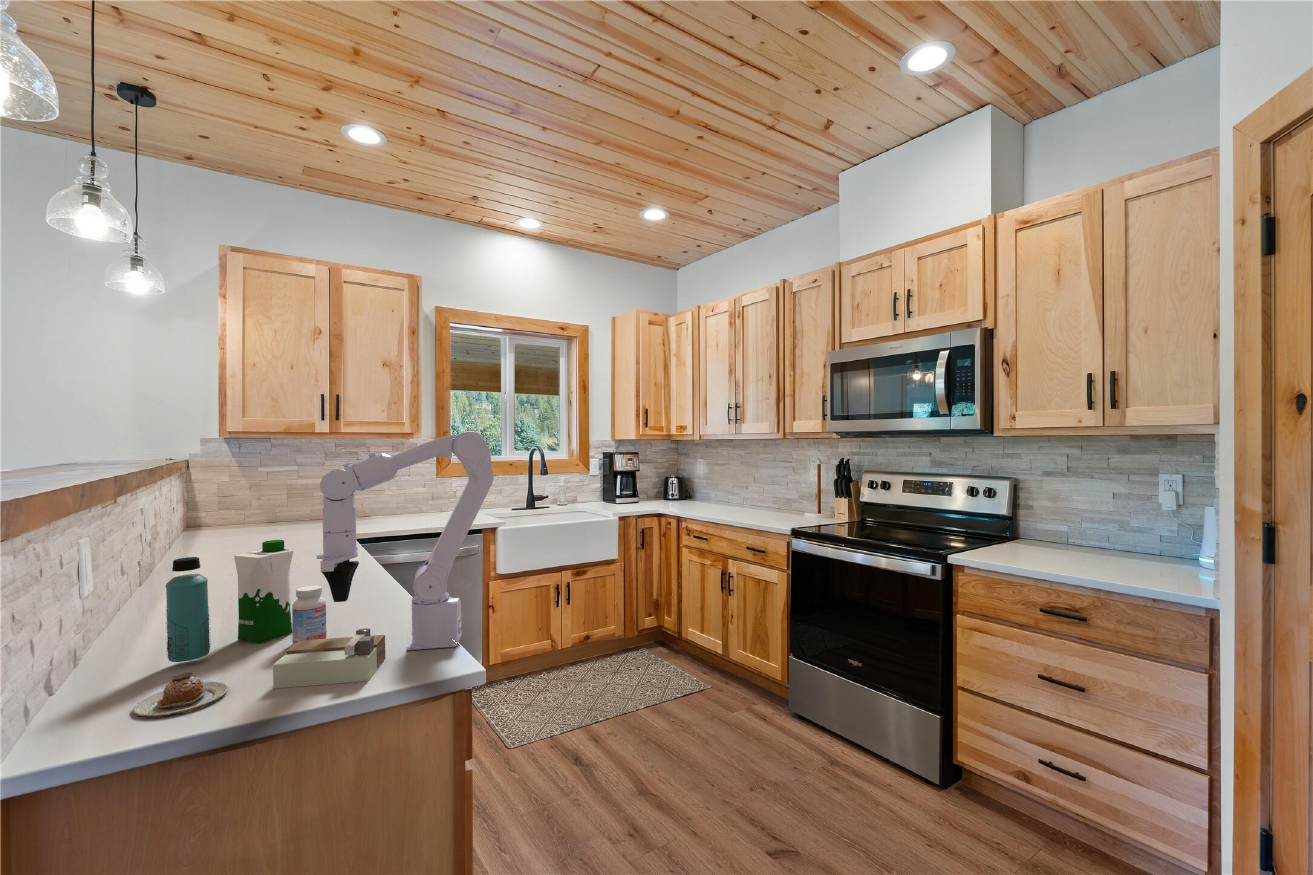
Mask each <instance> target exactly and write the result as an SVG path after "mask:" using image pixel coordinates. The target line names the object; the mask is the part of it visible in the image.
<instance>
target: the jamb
mask: <svg viewBox="0 0 1313 875" xmlns="http://www.w3.org/2000/svg"><path fill="white" fill-rule="evenodd" d="M372 636H374V648H377V670H378V669H379V668H380V667H381V665H382V664H383V663H384V661H385V659H386V634H378V635H377V634H376V635H375V634H374V635H373V634H372ZM353 637H354V636H349V637H346V636H345V637H334V638H331V637H330V638H326V639H315V640H301V641H298V642H297V643H296V644H294V645H293V644H292V646H290V647H289V648H287V650H286V651H285V654H294V653H308V652H322V651H335V650H345V645H346V644H347V643H348V642H349V641H350V640H351V639H352V638H353Z"/></svg>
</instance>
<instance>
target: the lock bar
mask: <svg viewBox="0 0 1313 875" xmlns="http://www.w3.org/2000/svg"><path fill="white" fill-rule="evenodd" d="M364 636H371V628H369V627H367V628H366V627H365V628H360V629H357V630H355V636H352V637H353V638H352V639H351V640H350V641H349V642H348V643H347V644H346V645H345V655H352V654H355V653H356V652H357V641H358V640H359V639H360V638H361V637H364Z"/></svg>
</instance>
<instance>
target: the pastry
mask: <svg viewBox="0 0 1313 875" xmlns="http://www.w3.org/2000/svg"><path fill="white" fill-rule="evenodd" d="M192 675H193V672H191V671H187V672H181V673H177V674H175V675H173V676H171V681H169V682H168V683H167V684H166V685H165V687H164V690H162V691H160V692H159V691H158V692H156V693H154V694H152V695H150V696H148V697H145V698H144V699H142V700H140V701H139V702H137V703H136V704H135V705H134V706H133V708H132V712H133V714H135V715H138V716H141V717H143V716H144V717H149V718H151V719H152V718H155V719H159V718H163V717H168V716H171V715H172V716H173V715H176V714H185V713H189V712H193V711H195V710H199V709H202V708H204V707H206V706H208V705H211V704H213V703H216V702H217V701H218V699H220V698H221V697H223V696H224V695H225V694H226V693H227V692H228V691H229V685H228V684H226V683H224V682H219V681H202V680H201V678H199V677H197V676H192ZM208 692H209V693H211V694H212V695H211V697H210V698H209V699H207V700H205V701H203V702H201V703H198V704H196V705H193V704H195V703H196V702H197V701H199V700H200V698H202V697H203V696H204V695H205V694H206V693H208ZM154 705H156V706H157V707H158V708H159V709H163V710H164V709H165V710H166V709H168V710H169V709H170V710H171V709H173V708H175V709H176V708H181V707H185V708H183V709H177V710H173V711H165V712H157V711H156V712H155V711H152V707H153V706H154ZM191 705H193V706H191ZM187 706H190V707H187ZM186 707H187V708H186Z"/></svg>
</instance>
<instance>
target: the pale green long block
mask: <svg viewBox="0 0 1313 875" xmlns="http://www.w3.org/2000/svg"><path fill="white" fill-rule="evenodd" d="M377 670H378V669H377V648H374V636H373V635H370V636H364V637H361V638H360V639H359V640H358V641H357V652H356V653H355V654H352V655H345V650H335V651H322V652H308V653H294V654H286V653H285V654H284V655H283V656H282V657H280V659H278V660H277V661H275V662H274V663H273V664H272V683H273V684H272V688H273V689H282V688H283V689H284V688H286V689H287V688H297V687H307V686H319V685H320V686H322V685H333V684H343V683H345V684H346V683H356V682H368V681H370V680H371V679H372V677H373V675H374V674H375V673H376V672H377Z"/></svg>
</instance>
